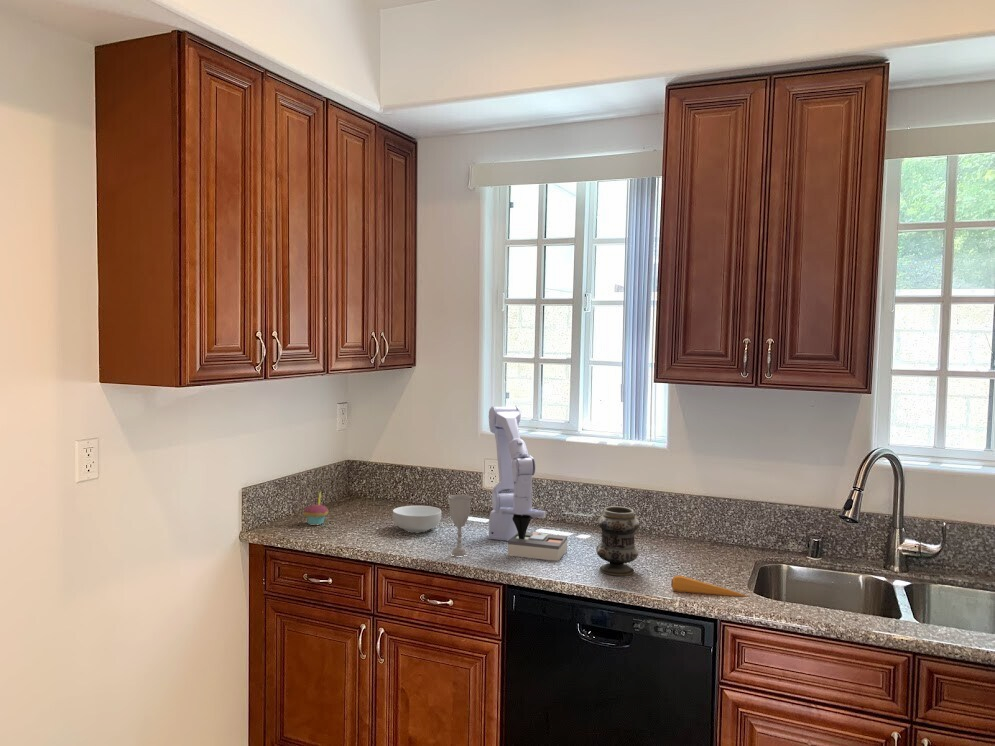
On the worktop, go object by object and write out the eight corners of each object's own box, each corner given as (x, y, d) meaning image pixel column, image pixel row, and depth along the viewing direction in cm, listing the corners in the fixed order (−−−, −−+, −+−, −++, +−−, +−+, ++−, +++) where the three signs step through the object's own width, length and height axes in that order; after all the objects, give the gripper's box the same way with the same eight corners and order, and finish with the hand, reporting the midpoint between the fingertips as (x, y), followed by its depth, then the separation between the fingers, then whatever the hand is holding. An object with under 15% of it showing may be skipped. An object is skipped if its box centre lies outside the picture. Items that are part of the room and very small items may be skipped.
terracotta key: (545, 550, 226) (546, 542, 226) (549, 546, 230) (549, 539, 230) (559, 551, 225) (559, 544, 225) (562, 548, 229) (562, 540, 229)
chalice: (474, 553, 227) (475, 495, 227) (466, 559, 221) (467, 500, 220) (452, 550, 230) (453, 493, 229) (443, 556, 223) (444, 498, 223)
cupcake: (317, 520, 265) (317, 487, 264) (333, 524, 260) (333, 490, 259) (298, 525, 258) (298, 491, 257) (314, 528, 253) (314, 494, 253)
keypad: (507, 555, 226) (507, 540, 226) (518, 545, 237) (518, 530, 237) (558, 560, 221) (558, 545, 221) (567, 550, 232) (567, 535, 232)
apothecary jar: (638, 578, 206) (639, 515, 205) (594, 575, 208) (596, 512, 207) (637, 565, 218) (639, 505, 217) (596, 563, 220) (598, 503, 219)
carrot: (670, 594, 196) (672, 581, 194) (670, 583, 200) (673, 570, 198) (748, 609, 192) (751, 596, 190) (747, 597, 196) (750, 584, 194)
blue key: (529, 545, 228) (529, 537, 228) (533, 541, 232) (533, 534, 232) (542, 546, 226) (542, 539, 226) (546, 543, 230) (546, 535, 230)
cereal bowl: (450, 532, 251) (450, 512, 251) (406, 539, 242) (406, 518, 242) (426, 521, 265) (426, 502, 265) (384, 528, 256) (384, 507, 256)
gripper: (496, 496, 228) (496, 539, 229) (542, 500, 224) (541, 544, 225) (503, 492, 235) (502, 534, 236) (547, 495, 231) (546, 538, 231)
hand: (521, 538), depth 231 cm, fingers closed, pressing on sage key
